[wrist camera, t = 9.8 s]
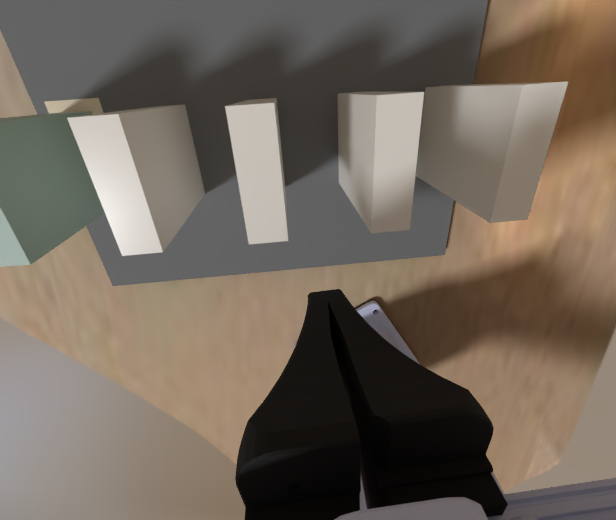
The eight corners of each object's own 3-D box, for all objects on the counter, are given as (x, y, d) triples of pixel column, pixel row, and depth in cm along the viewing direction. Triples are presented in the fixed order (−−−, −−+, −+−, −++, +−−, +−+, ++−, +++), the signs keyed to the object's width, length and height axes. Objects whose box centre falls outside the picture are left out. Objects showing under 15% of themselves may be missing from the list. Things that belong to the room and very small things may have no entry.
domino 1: (91, 111, 17) (-43, 126, 10) (121, 200, 19) (30, 264, 12) (61, 112, 17) (-98, 128, 10) (94, 202, 19) (-13, 267, 12)
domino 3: (276, 97, 17) (274, 102, 10) (285, 187, 20) (288, 240, 13) (247, 99, 17) (224, 106, 10) (259, 189, 19) (248, 244, 12)
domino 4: (365, 91, 17) (424, 91, 10) (363, 180, 20) (409, 230, 13) (337, 93, 17) (376, 95, 10) (338, 182, 20) (371, 233, 13)
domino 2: (184, 104, 17) (118, 113, 10) (205, 193, 19) (163, 252, 12) (155, 106, 17) (67, 117, 10) (179, 195, 19) (122, 255, 12)
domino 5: (453, 85, 18) (568, 81, 11) (440, 174, 20) (527, 219, 13) (425, 87, 17) (522, 84, 10) (416, 176, 20) (489, 222, 13)
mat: (493, -59, 15) (499, -63, 15) (442, 252, 23) (444, 254, 23) (-20, -32, 14) (-28, -35, 14) (115, 282, 22) (112, 286, 22)
